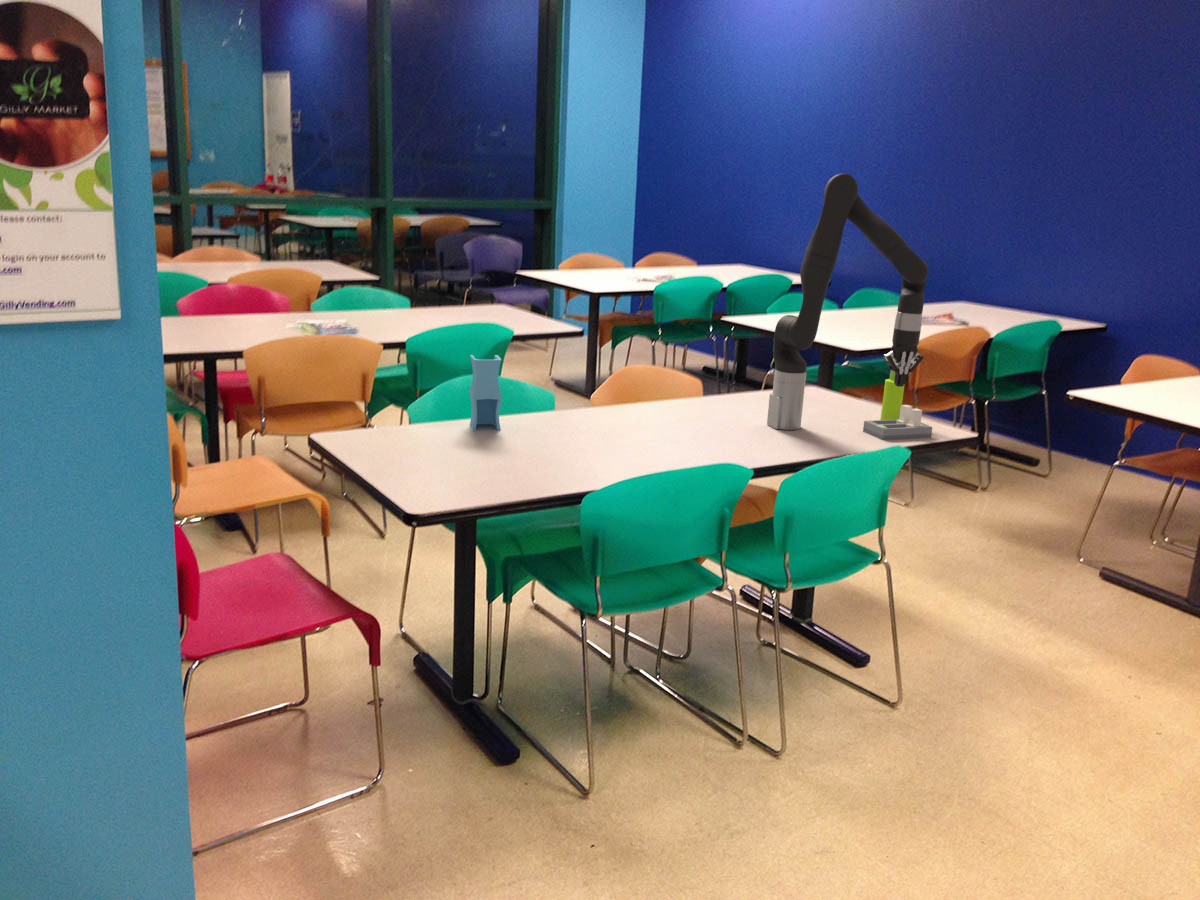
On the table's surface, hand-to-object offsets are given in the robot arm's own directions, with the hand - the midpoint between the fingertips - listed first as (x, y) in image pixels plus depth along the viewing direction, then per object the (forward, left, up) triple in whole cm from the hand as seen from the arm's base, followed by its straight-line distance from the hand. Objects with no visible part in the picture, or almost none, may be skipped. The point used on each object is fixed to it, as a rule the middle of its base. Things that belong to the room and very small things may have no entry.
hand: (899, 386), depth 305 cm
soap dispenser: (+8, +12, -15) cm, 21 cm away
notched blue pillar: (-119, +27, -15) cm, 123 cm away
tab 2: (+4, -4, -13) cm, 14 cm away
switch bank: (0, -2, -14) cm, 14 cm away
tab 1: (+4, +1, -13) cm, 14 cm away
